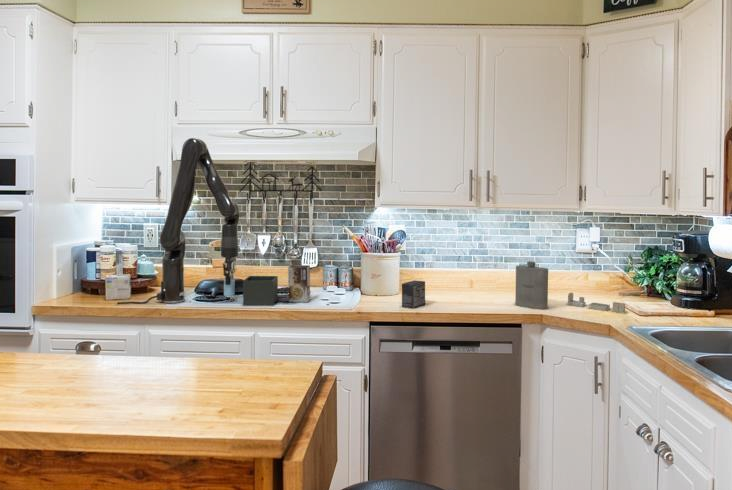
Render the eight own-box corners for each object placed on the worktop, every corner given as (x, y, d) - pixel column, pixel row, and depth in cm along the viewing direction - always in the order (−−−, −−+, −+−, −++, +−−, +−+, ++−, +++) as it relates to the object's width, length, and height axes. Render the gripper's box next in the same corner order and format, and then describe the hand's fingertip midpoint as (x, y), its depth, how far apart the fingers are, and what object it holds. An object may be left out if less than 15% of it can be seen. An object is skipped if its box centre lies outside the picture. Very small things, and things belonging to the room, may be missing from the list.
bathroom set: (567, 305, 276) (567, 293, 276) (571, 303, 279) (571, 291, 279) (623, 313, 259) (623, 301, 259) (627, 311, 263) (627, 299, 263)
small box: (413, 302, 279) (413, 279, 279) (425, 304, 276) (426, 281, 275) (400, 306, 271) (401, 283, 270) (413, 308, 267) (413, 284, 266)
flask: (512, 305, 275) (513, 260, 274) (518, 303, 279) (519, 259, 278) (543, 310, 265) (544, 264, 264) (549, 308, 269) (550, 262, 268)
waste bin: (243, 305, 272) (243, 280, 271) (249, 299, 285) (249, 275, 284) (272, 305, 272) (272, 280, 271) (277, 299, 285) (277, 276, 284)
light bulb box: (131, 296, 291) (130, 273, 290) (130, 298, 285) (130, 275, 284) (106, 297, 288) (106, 274, 287) (105, 300, 281) (104, 276, 281)
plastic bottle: (222, 296, 276) (222, 274, 275) (225, 294, 280) (225, 272, 280) (233, 296, 276) (233, 274, 275) (235, 294, 280) (235, 272, 280)
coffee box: (310, 299, 285) (310, 265, 284) (307, 302, 278) (307, 267, 278) (291, 299, 286) (291, 264, 285) (288, 302, 279) (287, 266, 279)
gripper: (225, 244, 284) (224, 280, 285) (217, 247, 270) (216, 286, 271) (241, 244, 284) (241, 281, 285) (234, 248, 270) (233, 286, 271)
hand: (229, 283), depth 278 cm, fingers closed on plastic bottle, 4 cm apart
